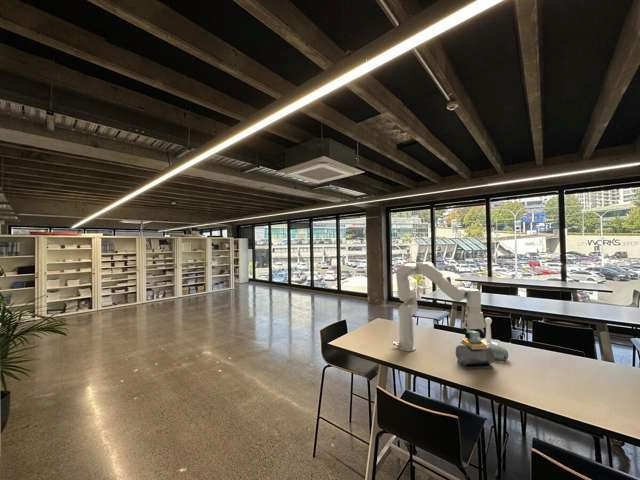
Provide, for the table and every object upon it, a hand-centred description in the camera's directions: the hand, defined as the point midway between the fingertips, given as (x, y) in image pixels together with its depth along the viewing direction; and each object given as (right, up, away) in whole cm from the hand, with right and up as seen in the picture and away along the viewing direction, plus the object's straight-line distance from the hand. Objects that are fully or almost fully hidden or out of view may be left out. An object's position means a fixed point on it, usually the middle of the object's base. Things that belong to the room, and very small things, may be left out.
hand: (474, 338), depth 160 cm
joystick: (+28, -17, +31) cm, 46 cm away
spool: (+19, -17, +9) cm, 27 cm away
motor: (0, -16, 0) cm, 16 cm away
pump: (0, -3, -1) cm, 4 cm away
